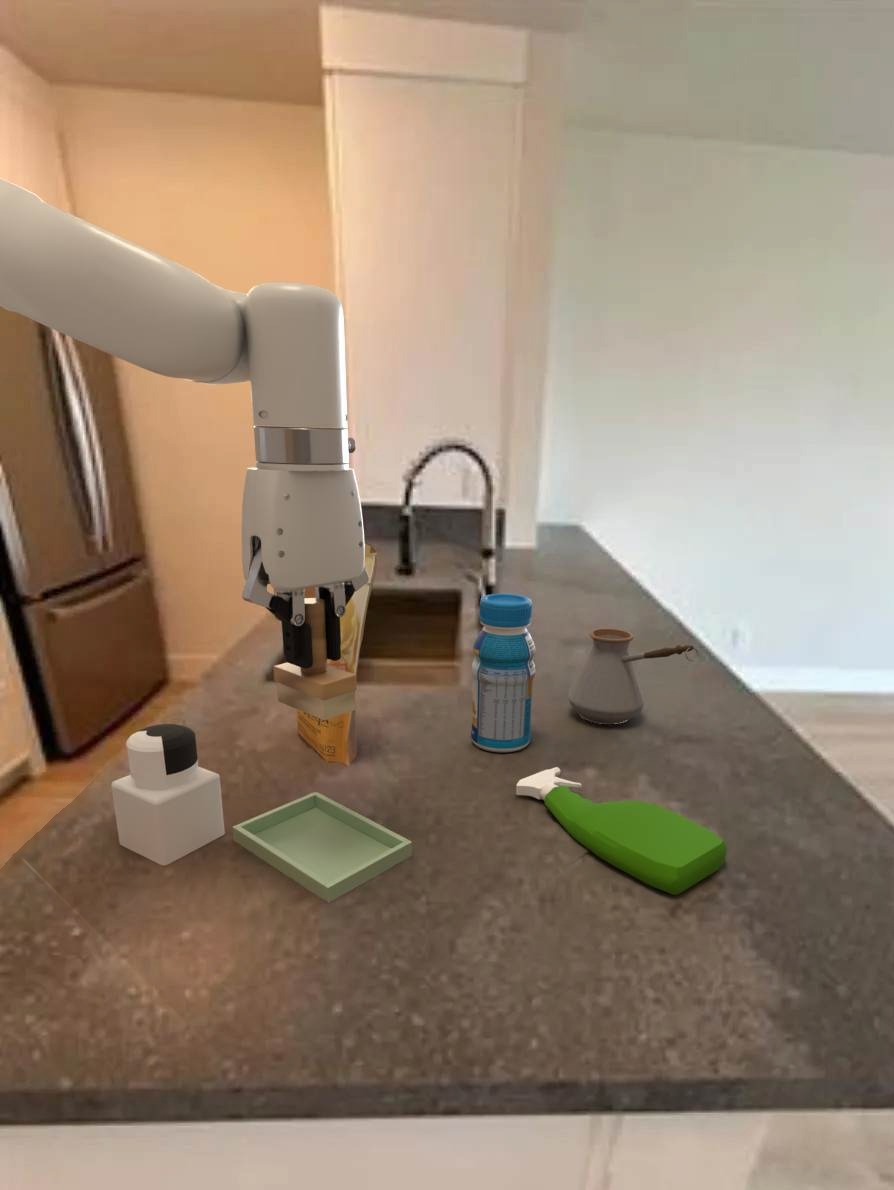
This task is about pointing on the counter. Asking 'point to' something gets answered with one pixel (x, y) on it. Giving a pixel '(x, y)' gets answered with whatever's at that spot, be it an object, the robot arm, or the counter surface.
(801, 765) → the counter surface
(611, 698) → the coffee pot
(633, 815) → the spray bottle
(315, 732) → the pancake mix bag
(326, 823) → the tray
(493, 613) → the beverage bottle
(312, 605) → the brush
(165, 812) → the medicine bottle
